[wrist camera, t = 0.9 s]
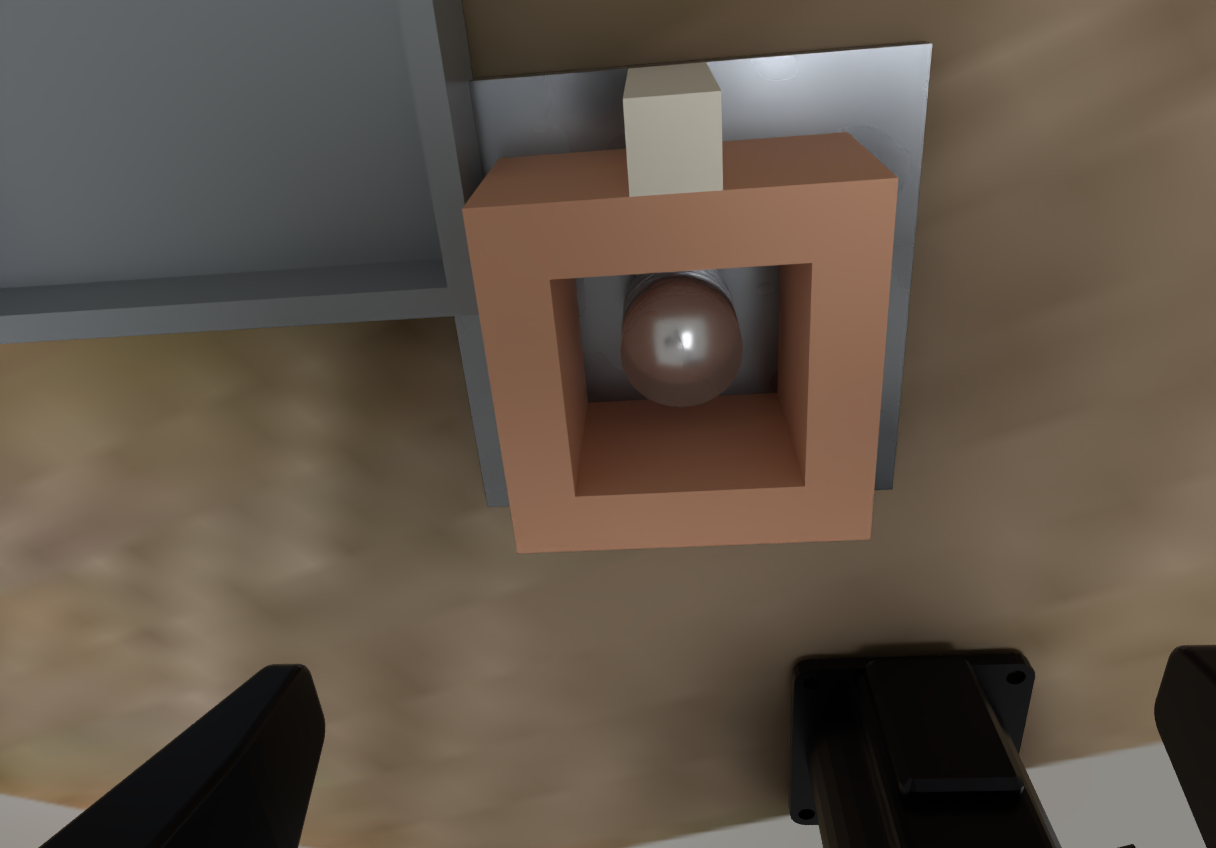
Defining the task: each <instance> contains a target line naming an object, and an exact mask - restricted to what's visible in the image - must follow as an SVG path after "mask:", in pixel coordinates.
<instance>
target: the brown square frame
mask: <svg viewBox="0 0 1216 848" xmlns="http://www.w3.org/2000/svg"><path fill="white" fill-rule="evenodd" d="M623 110H624V124H625V139H626V149H615V150H601V151H588V152H575V153H561V154H548V155H535V156H521V157H508V158H499V159H498V160H497V162H496V163H495V165H494V166H493V167H492V169H491V170H490V171H489V173H488V174H487V175H486V177H485V178H484V179H483V181H482V182H481V184H480V185H479V186H478V188H477V189H476V190H475V192H474V193H473V194H472V196H471V197H470V198H469V200H468V201H467V203H466V204H465V205H464V207H463V208H462V212H463V219H464V225H465V231H466V237H467V243H468V250H469V256H470V262H471V268H472V274H473V281H474V287H475V293H476V299H477V305H478V312H479V318H480V324H481V330H482V336H483V343H484V349H485V355H486V361H487V367H488V374H489V380H490V386H491V392H492V398H493V405H494V411H495V417H496V423H497V429H498V436H499V442H500V448H501V454H502V460H503V467H504V473H505V479H506V485H507V491H508V498H509V504H510V510H511V516H512V522H513V529H514V535H515V541H516V547H517V553H542V552H567V551H593V550H618V549H643V548H668V547H693V546H718V545H743V544H768V543H793V542H818V541H843V540H868V539H870V538H871V526H872V513H873V500H874V487H875V474H876V461H877V448H878V435H879V422H880V410H881V397H882V384H883V371H884V358H885V345H886V332H887V319H888V307H889V294H890V281H891V268H892V255H893V242H894V229H895V216H896V203H897V191H898V177H897V176H896V175H895V174H894V173H892V172H891V171H890V170H889V169H888V168H887V167H886V166H885V165H884V164H882V163H881V162H880V161H879V160H878V159H877V158H876V157H875V156H874V155H872V154H871V153H870V152H869V151H868V150H867V149H866V148H865V147H864V146H862V145H861V144H860V143H859V142H858V141H857V140H856V139H855V138H854V137H852V136H851V135H850V134H849V133H848V132H841V133H828V134H815V135H801V136H788V137H775V138H761V139H748V140H735V141H722V104H721V90H720V88H719V86H718V84H717V82H716V80H715V78H714V76H713V74H712V72H711V70H710V69H709V67H708V65H707V63H706V62H701V63H689V64H677V65H665V66H652V67H640V68H628V73H627V78H626V84H625V89H624V95H623ZM771 265H779V329H778V393H762V394H743V395H724V396H717V397H715V398H713V399H711V400H709V401H707V402H705V403H702V404H699V405H695V406H690V407H672V406H666V405H662V404H659V403H656V402H654V401H652V400H650V399H649V400H630V401H611V402H592V403H588V398H587V389H586V379H585V369H584V359H583V350H582V340H581V330H580V321H579V311H578V301H577V291H576V282H575V278H583V277H599V276H615V275H630V274H646V273H662V272H677V271H693V270H708V269H724V268H740V267H755V266H771Z"/></svg>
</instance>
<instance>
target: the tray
mask: <svg viewBox="0 0 1216 848" xmlns="http://www.w3.org/2000/svg"><path fill="white" fill-rule="evenodd" d="M471 79H473V75H472V68H471V61H470V54H469V47H468V40H467V34H466V27H465V20H464V13H463V6H462V0H0V344H7V343H23V342H40V341H56V340H72V339H89V338H105V337H121V336H138V335H154V334H170V333H187V332H203V331H219V330H236V329H252V328H268V327H285V326H301V325H317V324H334V323H350V322H366V321H383V320H399V319H415V318H431V317H448V316H464V315H479V312H478V305H477V299H476V293H475V287H474V281H473V274H472V268H471V262H470V256H469V250H468V243H467V237H466V231H465V225H464V219H463V212H462V208H463V207H464V205H465V204H466V203H467V201H468V200H469V198H470V197H471V196H472V194H473V193H474V192H475V190H476V189H477V188H478V186H479V185H480V184H481V182H482V181H483V177H482V170H481V163H480V157H479V150H478V143H477V136H476V130H475V123H474V116H473V109H472V102H471V96H470V89H469V81H470V80H471Z"/></svg>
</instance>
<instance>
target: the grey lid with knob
mask: <svg viewBox="0 0 1216 848" xmlns="http://www.w3.org/2000/svg"><path fill="white" fill-rule="evenodd" d="M931 52H932V43H929V42H926V41H921V42H909V43H897V44H885V45H873V46H861V47H848V48H836V49H824V50H812V51H800V52H788V53H775V54H763V55H751V56H739V57H727V58H715V59H703V60H690V61H678V62H666V63H654V64H642V65H630V66H617V67H605V68H593V69H581V70H569V71H557V72H544V73H532V74H520V75H508V76H496V77H484V78H473V79H471V80H470V81H469V89H470V96H471V102H472V109H473V116H474V123H475V130H476V136H477V143H478V150H479V157H480V163H481V170H482V177H483V179H484V178H485V177H486V175H487V174H488V173H489V171H490V170H491V169H492V167H493V166H494V165H495V163H496V162H497V160H498V159H499V158H508V157H521V156H535V155H548V154H561V153H575V152H588V151H601V150H615V149H626V139H625V124H624V110H623V95H624V89H625V84H626V78H627V73H628V68H640V67H652V66H665V65H677V64H689V63H701V62H706V63H707V65H708V67H709V69H710V70H711V72H712V74H713V76H714V78H715V80H716V82H717V84H718V86H719V88H720V90H721V104H722V141H735V140H748V139H761V138H775V137H788V136H801V135H815V134H828V133H841V132H848V133H849V134H850V135H851V136H852V137H854V138H855V139H856V140H857V141H858V142H859V143H860V144H861V145H862V146H864V147H865V148H866V149H867V150H868V151H869V152H870V153H871V154H872V155H874V156H875V157H876V158H877V159H878V160H879V161H880V162H881V163H882V164H884V165H885V166H886V167H887V168H888V169H889V170H890V171H891V172H892V173H894V174H895V175H896V176H897V177H898V191H897V203H896V216H895V229H894V242H893V255H892V268H891V281H890V294H889V307H888V319H887V332H886V345H885V358H884V371H883V384H882V397H881V410H880V422H879V435H878V448H877V461H876V474H875V487H874V490H890V489H892V488H893V477H894V466H895V455H896V444H897V432H898V421H899V410H900V399H901V388H902V376H903V365H904V354H905V343H906V332H907V321H908V309H909V298H910V287H911V276H912V265H913V253H914V242H915V231H916V220H917V209H918V198H919V186H920V175H921V164H922V153H923V142H924V130H925V119H926V108H927V97H928V86H929V74H930V63H931ZM575 282H576V291H577V301H578V311H579V321H580V330H581V340H582V350H583V359H584V369H585V379H586V389H587V398H588V403H592V402H611V401H630V400H649V399H650V400H652V401H654V402H656V403H659V404H662V405H666V406H672V407H690V406H695V405H699V404H702V403H705V402H707V401H709V400H711V399H713V398H715V397H717V396H724V395H743V394H762V393H778V329H779V265H771V266H755V267H740V268H724V269H708V270H693V271H677V272H662V273H646V274H630V275H615V276H599V277H583V278H575ZM454 318H455V324H456V330H457V335H458V341H459V347H460V352H461V358H462V364H463V369H464V375H465V381H466V386H467V392H468V398H469V403H470V409H471V415H472V421H473V426H474V432H475V438H476V443H477V449H478V455H479V460H480V466H481V472H482V477H483V483H484V489H485V494H486V500H487V506H488V507H505V506H510V504H509V498H508V491H507V485H506V479H505V473H504V467H503V460H502V454H501V448H500V442H499V436H498V429H497V423H496V417H495V411H494V405H493V398H492V392H491V386H490V380H489V374H488V367H487V361H486V355H485V349H484V343H483V336H482V330H481V324H480V318H479V315H464V316H454Z"/></svg>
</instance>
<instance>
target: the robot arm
mask: <svg viewBox="0 0 1216 848" xmlns="http://www.w3.org/2000/svg"><path fill="white" fill-rule="evenodd" d="M1017 670H1018V671H1017ZM1013 671H1016V672H1015V673H1011V672H1013ZM1009 673H1011V674H1009ZM811 676H814V677H816V678H814V679H806V678H807V677H811ZM1034 679H1035V672H1034V670H1033V668H1032V666H1031V664H1030V662H1029V661H1028V659H1027V658H1026V657H1025V656H1023V655H1021V654H1014V653H1009V654H976V655H942V656H909V657H875V658H842V659H810V660H804V661H802V662H800V663H798V664H797V665H796V666H795V667H794V668H793V671H792V689H791V726H790V763H789V799H788V804H789V810H790V816H791V819H792V820H793V821H794V822H796V823H798V824H802V825H819V829H820V834H821V839H822V844H823V848H1062V847H1061V845H1060V843H1059V841H1058V839H1057V837H1056V834H1055V832H1054V830H1053V828H1052V826H1051V823H1050V821H1049V819H1048V817H1047V815H1046V813H1045V810H1044V808H1043V806H1042V804H1041V802H1040V800H1039V798H1038V795H1037V793H1036V791H1035V789H1034V787H1033V785H1032V783H1031V780H1030V778H1029V776H1028V774H1027V771H1026V769H1025V767H1024V765H1023V763H1022V761H1021V758H1020V756H1019V752H1020V747H1021V742H1022V737H1023V732H1024V727H1025V723H1026V718H1027V713H1028V708H1029V703H1030V699H1031V694H1032V689H1033V684H1034ZM1154 715H1155V721H1156V726H1157V729H1158V731H1159V734H1160V736H1161V739H1162V741H1163V744H1164V746H1165V748H1166V751H1167V753H1168V756H1169V758H1170V760H1171V763H1172V765H1173V768H1174V770H1175V772H1176V775H1177V777H1178V780H1179V782H1180V785H1181V787H1182V789H1183V792H1184V794H1185V797H1186V799H1187V801H1188V804H1189V806H1190V809H1191V811H1192V813H1193V816H1194V818H1195V820H1196V823H1197V825H1198V828H1199V830H1200V833H1201V835H1202V837H1203V840H1204V842H1205V845H1206V847H1207V848H1216V645H1183V646H1179V647H1176V648H1175V649H1174V650H1173V651H1172V652H1171V654H1170V656H1169V659H1168V662H1167V665H1166V668H1165V672H1164V675H1163V678H1162V681H1161V685H1160V688H1159V691H1158V694H1157V698H1156V701H1155V707H1154ZM324 738H325V719H324V714H323V711H322V708H321V705H320V701H319V698H318V695H317V692H316V688H315V685H314V682H313V679H312V676H311V673H310V671H309V669H308V668H307V667H306V666H305V665H302V664H273V665H268V666H266V667H264V668H263V669H261V670H260V671H259V672H257V673H256V674H255V675H254V676H252V677H251V678H250V679H249V680H247V681H246V682H245V683H244V684H242V685H241V686H240V687H239V688H237V689H236V690H235V691H234V692H232V693H231V694H230V695H229V696H227V697H226V698H225V699H224V700H222V701H221V702H220V703H219V704H217V705H216V706H215V707H214V708H212V709H211V710H210V711H209V712H207V713H206V714H205V715H204V716H202V717H201V718H200V719H199V720H197V721H196V722H195V723H194V724H192V725H191V726H190V727H189V728H187V729H186V730H185V731H184V732H182V733H181V734H180V735H179V736H177V737H176V738H175V739H174V740H172V741H171V742H170V743H169V744H167V745H166V746H165V747H164V748H162V749H161V750H160V751H159V752H157V753H156V754H155V755H154V756H152V757H151V758H150V759H149V760H147V761H146V762H145V763H144V764H142V765H141V766H140V767H139V768H137V769H136V770H135V771H134V772H132V773H131V774H130V775H129V776H127V777H126V778H125V779H124V780H122V781H121V782H120V783H119V784H118V785H116V786H115V787H114V788H113V789H111V790H110V791H109V792H108V793H106V794H105V795H104V796H103V797H101V798H100V799H99V800H98V801H96V802H95V803H94V804H93V805H91V806H90V807H89V808H88V809H86V810H85V811H84V812H83V813H81V814H80V815H79V816H78V817H76V818H75V819H74V820H73V821H71V822H70V823H69V824H68V825H66V826H65V827H64V828H63V829H61V830H60V831H59V832H58V833H56V834H55V835H54V836H53V837H51V838H50V839H49V840H48V841H47V842H45V843H44V844H43V845H41V846H40V847H39V848H298V846H299V842H300V838H301V834H302V829H303V825H304V821H305V817H306V813H307V809H308V805H309V801H310V796H311V792H312V788H313V784H314V780H315V776H316V772H317V768H318V763H319V759H320V755H321V751H322V747H323V743H324ZM1119 848H1135V846H1134V845H1133V844H1131V845H1127V846H1123V847H1119Z"/></svg>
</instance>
